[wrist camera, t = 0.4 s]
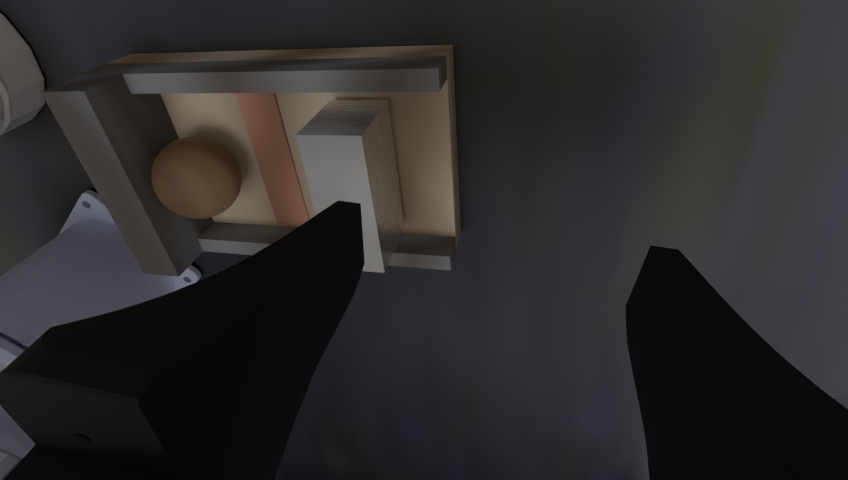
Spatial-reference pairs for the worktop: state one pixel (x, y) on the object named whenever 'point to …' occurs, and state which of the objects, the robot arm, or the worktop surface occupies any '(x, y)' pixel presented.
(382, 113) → the grey rectangular block
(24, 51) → the white cup
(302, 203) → the wooden shadow box
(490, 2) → the worktop surface
